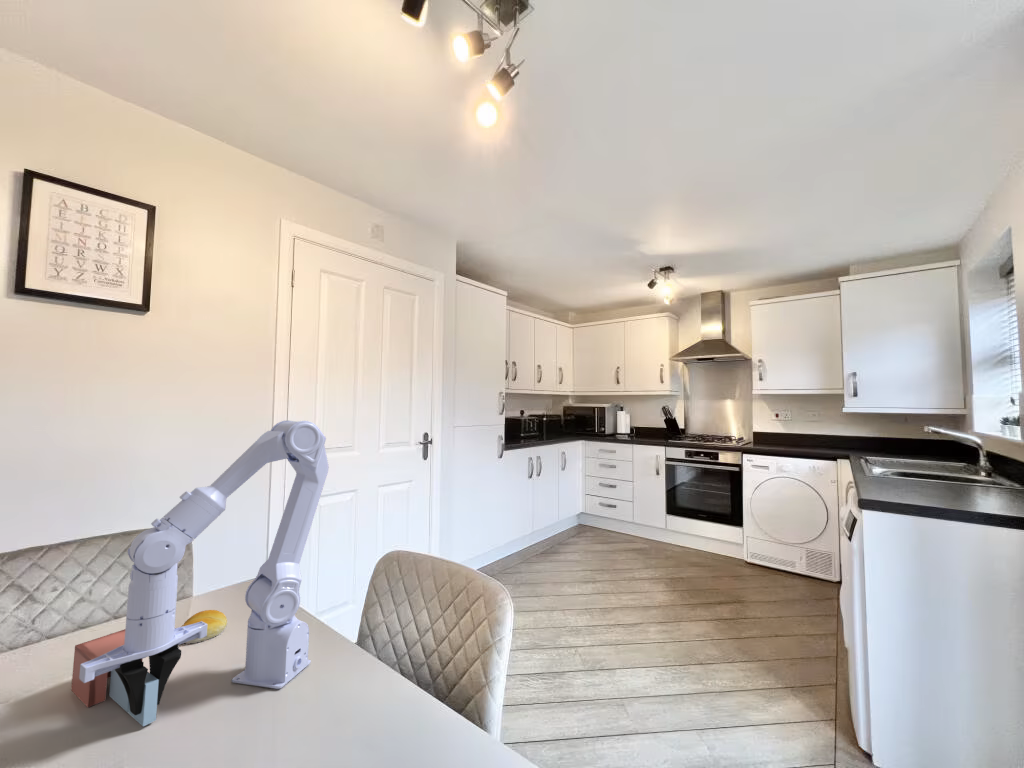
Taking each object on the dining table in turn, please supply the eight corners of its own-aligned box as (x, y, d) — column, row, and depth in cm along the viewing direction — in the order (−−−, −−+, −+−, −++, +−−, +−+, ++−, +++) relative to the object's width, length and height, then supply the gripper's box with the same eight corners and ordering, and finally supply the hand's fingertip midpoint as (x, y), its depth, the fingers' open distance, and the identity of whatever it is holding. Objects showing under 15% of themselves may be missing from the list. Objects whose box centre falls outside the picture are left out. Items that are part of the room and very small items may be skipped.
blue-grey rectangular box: (156, 720, 62) (159, 679, 63) (142, 726, 61) (145, 685, 61) (121, 690, 69) (124, 654, 69) (108, 696, 67) (111, 658, 68)
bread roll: (167, 648, 82) (169, 627, 83) (189, 627, 91) (190, 607, 91) (216, 642, 85) (217, 622, 85) (232, 622, 93) (233, 603, 94)
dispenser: (141, 686, 70) (145, 642, 71) (89, 708, 65) (93, 660, 66) (122, 670, 75) (125, 629, 75) (71, 690, 69) (74, 645, 70)
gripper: (194, 589, 72) (189, 673, 71) (75, 624, 59) (66, 727, 58) (215, 598, 68) (210, 687, 67) (93, 638, 56) (84, 748, 55)
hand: (144, 707), depth 62 cm, fingers closed on blue-grey rectangular box
